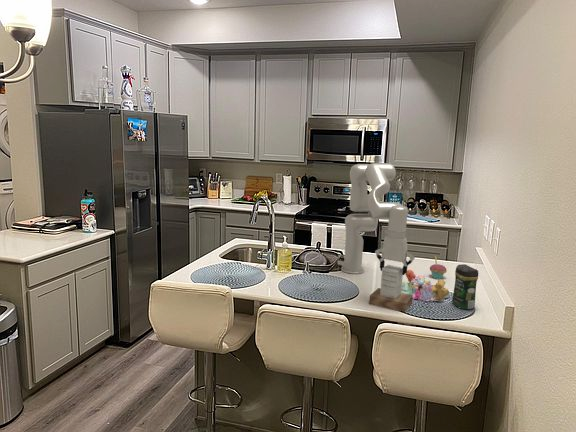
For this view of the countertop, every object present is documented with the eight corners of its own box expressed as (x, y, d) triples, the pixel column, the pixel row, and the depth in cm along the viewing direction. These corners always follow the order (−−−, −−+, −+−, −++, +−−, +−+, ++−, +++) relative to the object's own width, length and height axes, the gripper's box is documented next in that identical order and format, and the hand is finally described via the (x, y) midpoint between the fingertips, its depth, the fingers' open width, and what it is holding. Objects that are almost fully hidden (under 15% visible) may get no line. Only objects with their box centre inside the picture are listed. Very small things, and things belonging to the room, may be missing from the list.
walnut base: (368, 304, 195) (369, 295, 194) (377, 296, 205) (378, 287, 204) (405, 312, 187) (405, 303, 187) (412, 303, 198) (412, 295, 197)
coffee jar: (448, 302, 200) (452, 263, 197) (463, 301, 202) (468, 262, 199) (461, 311, 191) (466, 269, 188) (477, 309, 193) (482, 269, 190)
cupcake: (428, 278, 234) (430, 256, 232) (429, 273, 242) (431, 252, 239) (445, 280, 231) (447, 258, 229) (446, 276, 239) (448, 254, 236)
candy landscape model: (451, 291, 217) (453, 273, 215) (447, 307, 196) (449, 287, 194) (400, 282, 227) (401, 265, 225) (390, 296, 206) (392, 277, 204)
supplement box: (385, 290, 201) (387, 264, 198) (401, 294, 197) (403, 267, 194) (379, 295, 195) (381, 268, 192) (395, 299, 191) (398, 271, 188)
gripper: (374, 232, 191) (371, 270, 195) (414, 239, 183) (410, 278, 187) (379, 229, 198) (376, 266, 201) (418, 235, 190) (414, 273, 193)
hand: (392, 272), depth 194 cm, fingers open, 9 cm apart
